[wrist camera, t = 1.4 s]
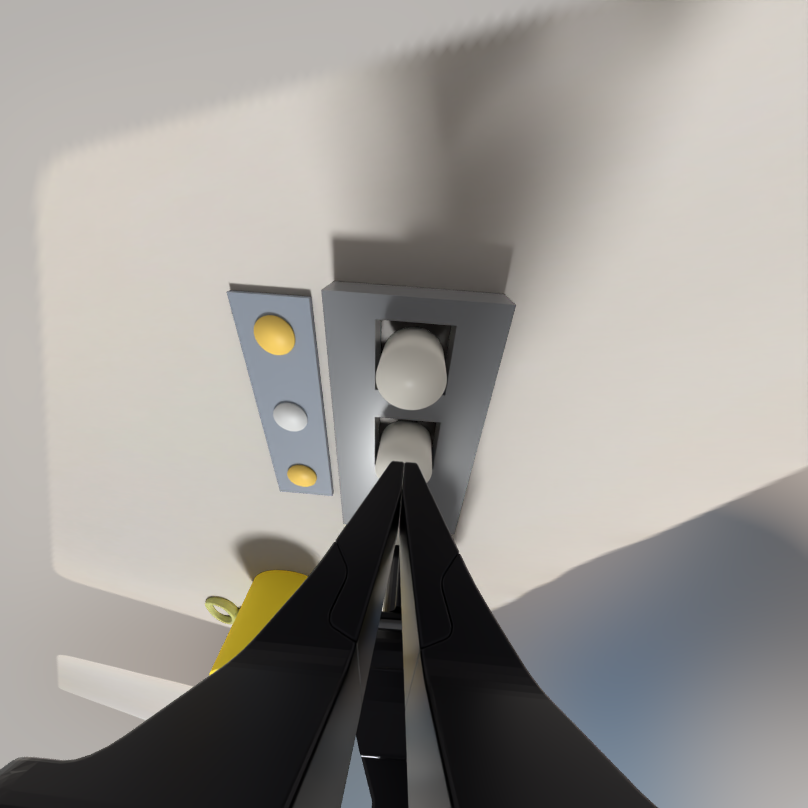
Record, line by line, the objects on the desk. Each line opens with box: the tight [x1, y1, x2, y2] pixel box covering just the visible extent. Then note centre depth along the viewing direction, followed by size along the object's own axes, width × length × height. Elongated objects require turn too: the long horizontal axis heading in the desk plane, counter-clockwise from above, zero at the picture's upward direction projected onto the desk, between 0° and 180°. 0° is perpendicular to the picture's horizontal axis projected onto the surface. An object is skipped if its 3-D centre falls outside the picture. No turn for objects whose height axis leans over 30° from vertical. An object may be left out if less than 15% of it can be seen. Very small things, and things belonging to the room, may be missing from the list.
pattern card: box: [227, 290, 333, 496], centre depth 22 cm, size 18×5×1 cm, turn 176°
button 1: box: [376, 327, 447, 410], centre depth 16 cm, size 4×4×3 cm
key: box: [205, 597, 240, 624], centre depth 43 cm, size 7×12×2 cm, turn 102°
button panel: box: [321, 281, 516, 534], centre depth 21 cm, size 20×10×2 cm, turn 176°
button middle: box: [375, 420, 432, 485], centre depth 19 cm, size 4×4×3 cm
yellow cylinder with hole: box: [209, 570, 308, 675], centre depth 35 cm, size 10×10×9 cm
